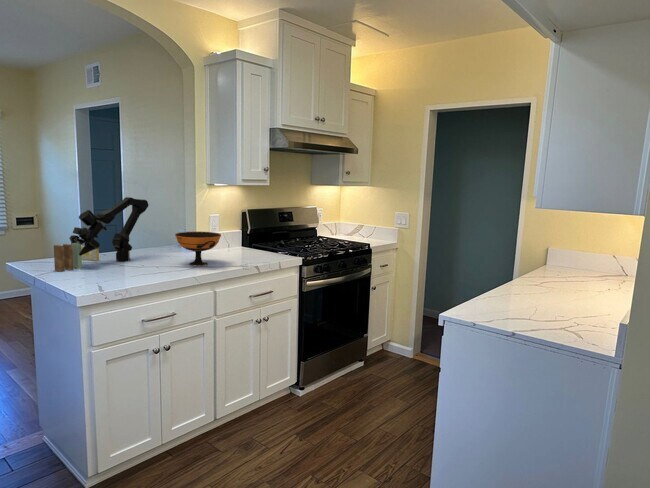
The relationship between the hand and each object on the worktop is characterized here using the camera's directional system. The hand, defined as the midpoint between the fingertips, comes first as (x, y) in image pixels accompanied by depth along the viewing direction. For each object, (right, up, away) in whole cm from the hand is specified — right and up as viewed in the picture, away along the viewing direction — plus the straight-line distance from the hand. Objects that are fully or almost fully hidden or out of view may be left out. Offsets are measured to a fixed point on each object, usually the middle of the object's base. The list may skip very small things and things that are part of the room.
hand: (74, 254), depth 237 cm
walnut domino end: (-4, -8, -6) cm, 11 cm away
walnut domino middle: (-2, -8, -2) cm, 8 cm away
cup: (+58, -7, +25) cm, 64 cm away
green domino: (0, -7, +2) cm, 8 cm away
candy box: (-7, -4, +24) cm, 25 cm away
